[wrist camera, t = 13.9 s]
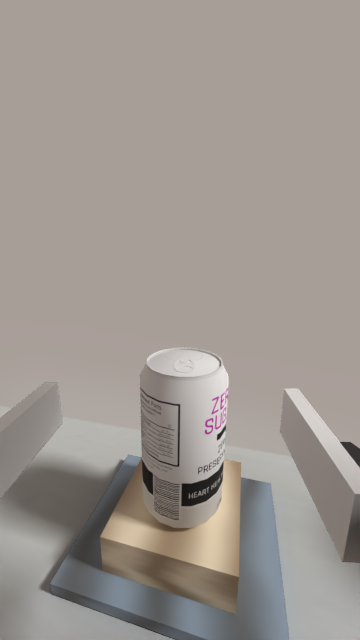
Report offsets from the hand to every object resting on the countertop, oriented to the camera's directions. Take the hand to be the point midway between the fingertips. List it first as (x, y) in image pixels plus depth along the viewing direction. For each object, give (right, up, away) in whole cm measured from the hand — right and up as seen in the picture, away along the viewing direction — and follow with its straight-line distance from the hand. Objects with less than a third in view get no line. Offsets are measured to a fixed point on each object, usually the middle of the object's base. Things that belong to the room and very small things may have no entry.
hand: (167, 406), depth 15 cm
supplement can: (+1, -14, +12) cm, 18 cm away
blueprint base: (+1, -18, +13) cm, 23 cm away
